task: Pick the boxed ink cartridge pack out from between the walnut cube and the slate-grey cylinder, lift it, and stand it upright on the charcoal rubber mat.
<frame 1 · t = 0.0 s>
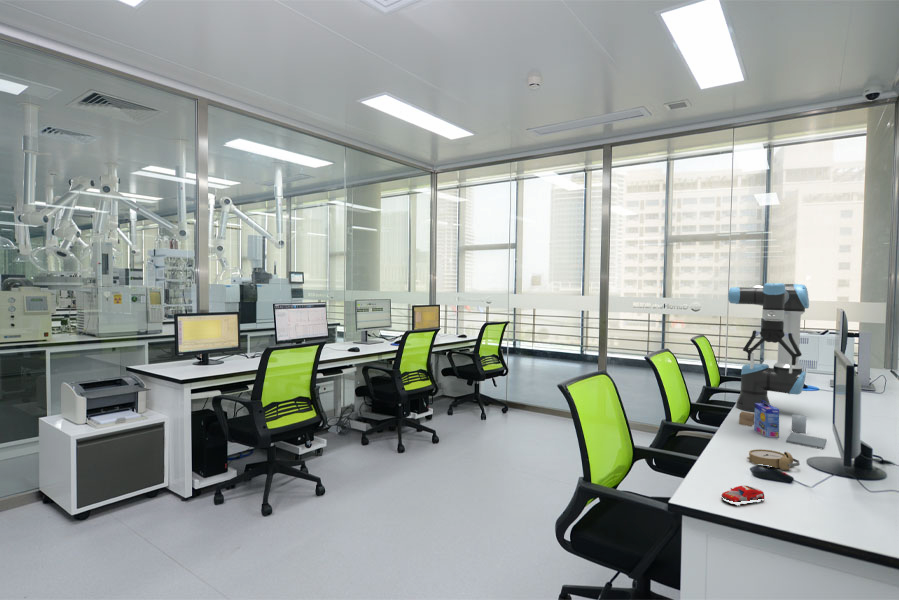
hand: (770, 370, 199), 28 cm above the table, tool pointing down, fingers open, 13 cm apart
alarm clock: (773, 465, 169), on the table
slate cylinder: (798, 431, 208), on the table
ink cartridge box: (765, 434, 204), on the table
charcoal mat: (806, 441, 195), on the table
race car: (742, 502, 140), on the table
walnut cube: (746, 424, 218), on the table
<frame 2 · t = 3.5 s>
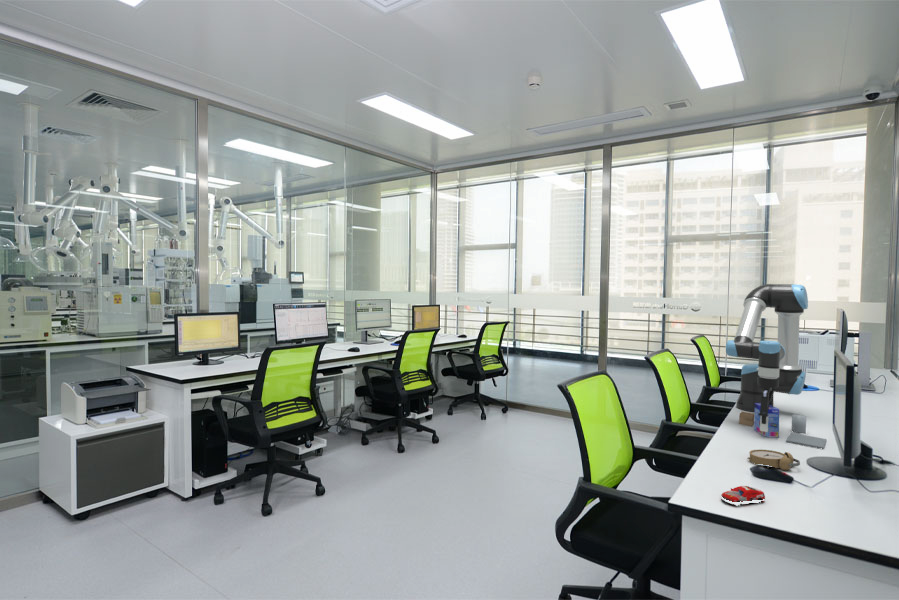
hand: (766, 428, 204), 2 cm above the table, tool pointing down, fingers closed on ink cartridge box, 10 cm apart
ink cartridge box: (765, 434, 204), on the table, touching gripper
everything else where it was.
when the fingers open (5 cm above the table, at t = 11.2 s): ink cartridge box drops 1 cm, resting on charcoal mat.
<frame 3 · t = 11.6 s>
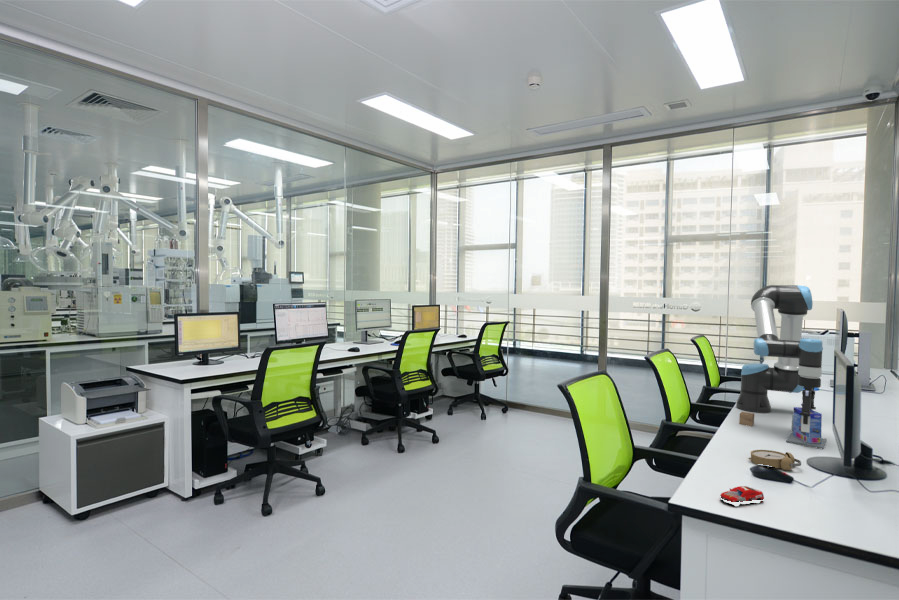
hand: (807, 428, 195), 5 cm above the table, tool pointing down, fingers open, 13 cm apart
ink cartridge box: (806, 440, 195), point 1 cm above the table, touching charcoal mat
everything else where it was.
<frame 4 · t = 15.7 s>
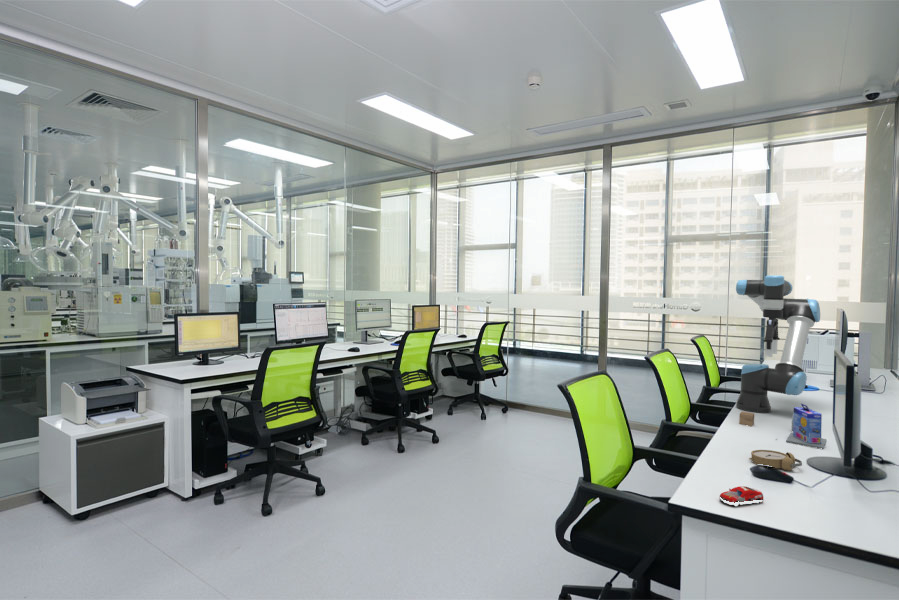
hand: (771, 355, 219), 32 cm above the table, tool pointing down, fingers open, 13 cm apart
nothing on the table moved.
at the end: ink cartridge box inside the target area on the charcoal mat (0.3 cm from its centre), point 0.6 cm above the charcoal mat's base; ink cartridge box tilted 0°; the gripper is holding nothing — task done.
